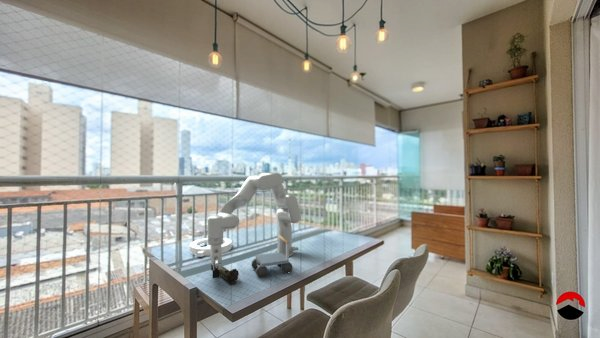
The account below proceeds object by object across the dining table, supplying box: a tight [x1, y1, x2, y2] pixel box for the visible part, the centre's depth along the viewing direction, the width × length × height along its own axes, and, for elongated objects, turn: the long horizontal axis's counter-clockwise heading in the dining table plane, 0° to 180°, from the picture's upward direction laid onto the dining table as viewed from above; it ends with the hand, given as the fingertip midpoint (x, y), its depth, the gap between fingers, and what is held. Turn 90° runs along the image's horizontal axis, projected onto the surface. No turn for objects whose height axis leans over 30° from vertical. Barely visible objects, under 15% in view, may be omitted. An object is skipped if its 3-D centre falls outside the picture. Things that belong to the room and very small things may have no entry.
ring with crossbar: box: [189, 237, 233, 258], centre depth 170 cm, size 28×28×5 cm
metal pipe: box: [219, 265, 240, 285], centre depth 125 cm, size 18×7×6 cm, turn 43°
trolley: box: [251, 235, 293, 279], centre depth 134 cm, size 20×14×18 cm
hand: (215, 273), depth 122 cm, fingers open, 9 cm apart
